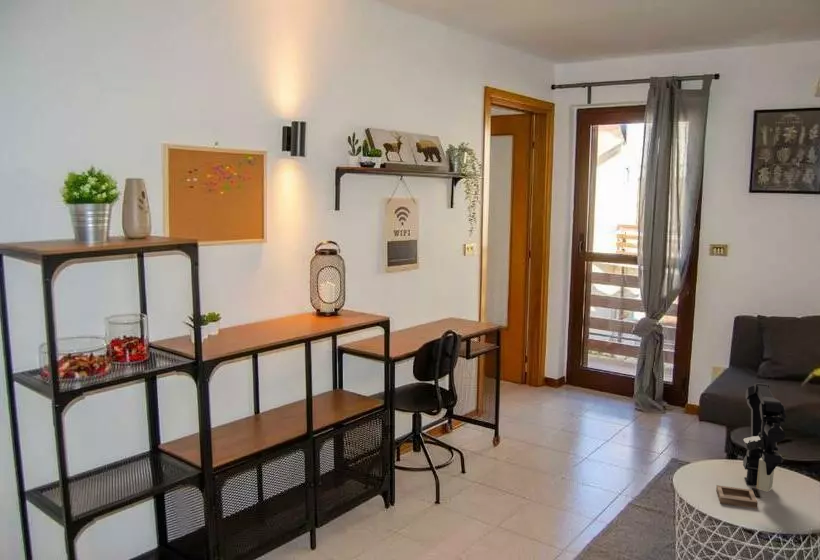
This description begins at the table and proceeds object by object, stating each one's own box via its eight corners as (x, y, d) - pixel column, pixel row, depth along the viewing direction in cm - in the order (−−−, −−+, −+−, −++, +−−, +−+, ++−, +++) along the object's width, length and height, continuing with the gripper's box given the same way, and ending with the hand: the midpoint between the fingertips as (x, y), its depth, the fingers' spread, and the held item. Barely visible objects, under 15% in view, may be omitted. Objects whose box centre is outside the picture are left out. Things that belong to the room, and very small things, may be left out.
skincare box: (760, 483, 259) (763, 454, 257) (773, 487, 256) (775, 457, 254) (755, 488, 254) (758, 459, 252) (768, 492, 251) (771, 462, 249)
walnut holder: (716, 490, 265) (716, 485, 264) (751, 495, 261) (752, 489, 260) (720, 503, 254) (720, 497, 254) (757, 508, 250) (757, 502, 250)
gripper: (741, 421, 263) (738, 458, 265) (751, 439, 245) (748, 478, 247) (772, 424, 259) (768, 462, 262) (784, 442, 242) (781, 482, 244)
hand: (765, 470), depth 254 cm, fingers closed on skincare box, 7 cm apart
